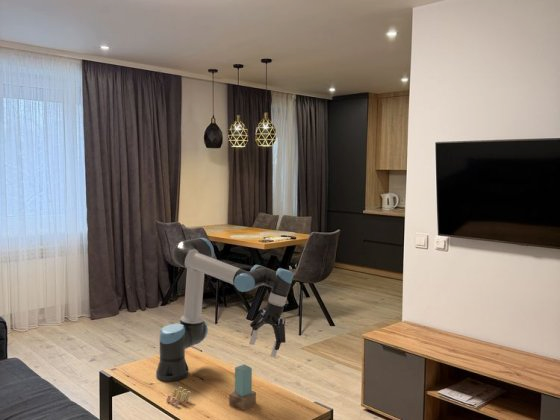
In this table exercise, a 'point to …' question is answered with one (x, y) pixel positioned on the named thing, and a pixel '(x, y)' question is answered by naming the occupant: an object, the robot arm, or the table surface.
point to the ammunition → (179, 396)
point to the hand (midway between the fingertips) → (262, 350)
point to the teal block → (243, 380)
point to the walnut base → (242, 400)
